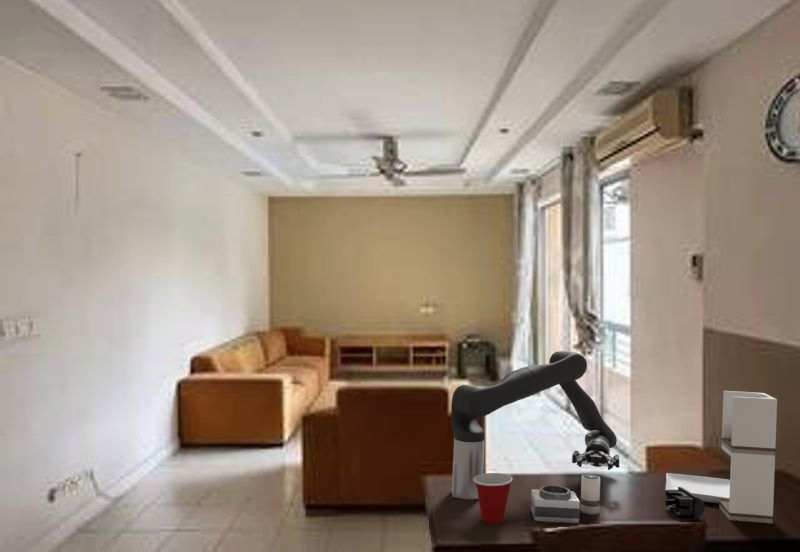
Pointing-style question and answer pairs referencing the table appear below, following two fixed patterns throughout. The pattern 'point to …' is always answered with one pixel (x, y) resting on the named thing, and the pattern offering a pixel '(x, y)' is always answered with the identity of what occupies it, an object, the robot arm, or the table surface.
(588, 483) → the lens barrel
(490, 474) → the plastic cup
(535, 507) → the banded square pedestal
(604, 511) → the table surface
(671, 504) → the end cap
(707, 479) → the salad plate
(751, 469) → the white shelf tower
